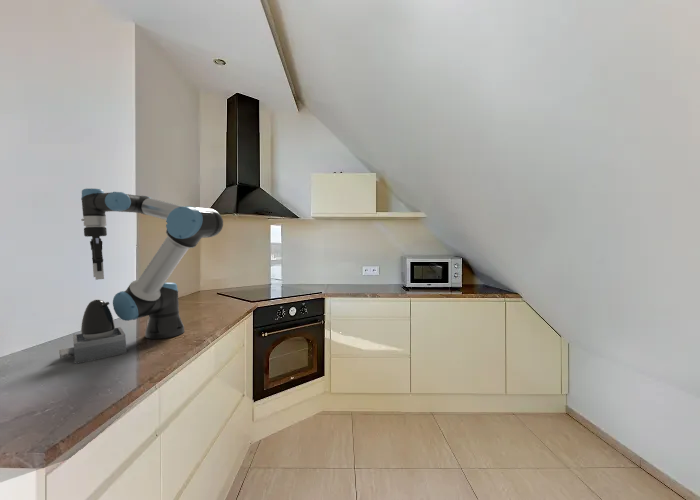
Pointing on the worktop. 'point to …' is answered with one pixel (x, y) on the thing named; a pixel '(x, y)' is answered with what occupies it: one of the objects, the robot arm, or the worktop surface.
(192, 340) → the worktop surface
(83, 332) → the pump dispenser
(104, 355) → the block
